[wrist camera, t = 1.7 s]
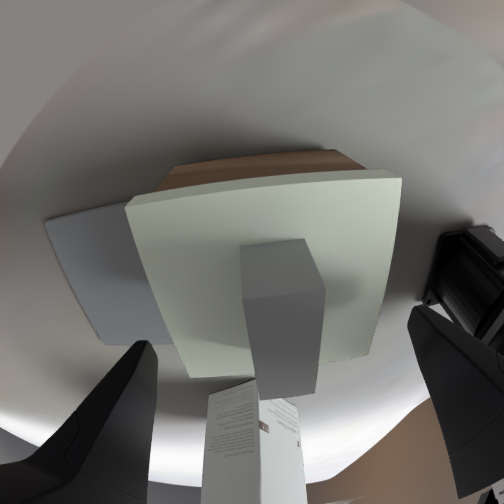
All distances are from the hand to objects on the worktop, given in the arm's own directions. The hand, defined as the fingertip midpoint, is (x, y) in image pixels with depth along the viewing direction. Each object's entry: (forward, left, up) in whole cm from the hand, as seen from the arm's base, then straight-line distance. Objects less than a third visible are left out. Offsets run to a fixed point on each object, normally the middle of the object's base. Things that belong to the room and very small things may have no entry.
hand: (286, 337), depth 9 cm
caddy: (0, 0, -8) cm, 8 cm away
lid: (0, 0, -3) cm, 3 cm away
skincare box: (-19, +3, -8) cm, 21 cm away
